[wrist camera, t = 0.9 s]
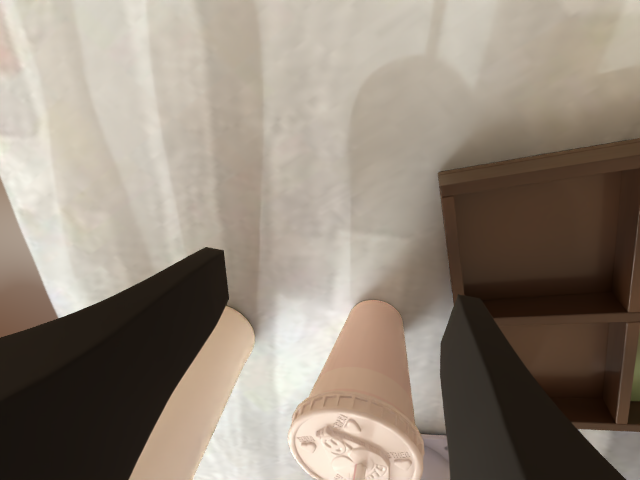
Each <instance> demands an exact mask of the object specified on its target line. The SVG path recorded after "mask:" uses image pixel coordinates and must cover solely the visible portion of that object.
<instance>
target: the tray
mask: <svg viewBox="0 0 640 480" xmlns="http://www.w3.org/2000/svg"><path fill="white" fill-rule="evenodd" d="M438 179H439V187H440V195H441V203H442V212H443V220H444V228H445V236H446V244H447V253H448V261H449V269H450V277H451V285H452V294H453V302H454V304H455V301H456V299H457V296H458V294H459V295H464V296H470V297H475V298H480V299H481V300H482V302H483V303H484V305H485V306H486V308H487V309H488V311H489V313H490V314H491V316H492V317H493V319H494V320H495V322H496V323H497V325H498V327H499V328H500V330H501V331H502V333H503V334H504V336H505V337H506V339H507V340H508V342H509V343H510V345H511V346H512V348H513V349H514V350H515V352H516V353H517V355H518V356H519V358H520V359H521V360H522V362H523V363H524V365H525V366H526V367H527V369H528V370H529V371H530V373H531V374H532V376H533V377H534V378H535V379H536V381H537V382H538V383H539V385H540V386H541V387H542V388H543V390H544V391H545V392H546V393H547V395H548V396H549V397H550V398H551V400H552V401H553V402H554V403H555V404H556V406H557V407H558V408H559V409H560V410H561V411H562V413H563V414H564V415H565V416H566V417H567V418H568V419H569V420H570V422H571V423H572V424H573V425H574V426H575V427H576V428H577V429H591V430H612V431H634V432H640V138H637V139H631V140H625V141H619V142H613V143H607V144H601V145H596V146H590V147H584V148H578V149H572V150H566V151H560V152H554V153H548V154H542V155H536V156H530V157H524V158H518V159H513V160H507V161H501V162H495V163H489V164H483V165H477V166H471V167H465V168H459V169H453V170H447V171H441V172H438Z"/></svg>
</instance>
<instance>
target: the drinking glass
mask: <svg viewBox="0 0 640 480" xmlns="http://www.w3.org/2000/svg"><path fill="white" fill-rule="evenodd" d="M254 344H255V335H254V331H253V328H252V326H251V325H250V323H249V322H248V320H247V319H246V318H245V317H244V316H243V315H242V314H241V313H239V312H238V311H236V310H234V309H232V308H230V307H228V306H226V307H225V309H224V311H223V313H222V315H221V317H220V319H219V321H218V323H217V325H216V327H215V328H214V330H213V332H212V333H211V335H210V336H209V338H208V339H207V341H206V342H205V344H204V345H203V347H202V349H201V350H200V352H199V353H198V355H197V356H196V358H195V359H194V361H193V362H192V364H191V365H190V367H189V368H188V370H187V371H186V373H185V374H184V376H183V377H182V379H181V380H180V382H179V383H178V385H177V387H176V388H175V390H174V392H173V393H172V395H171V396H170V398H169V400H168V402H167V404H166V406H165V408H164V410H163V411H162V413H161V415H160V417H159V419H158V421H157V423H156V425H155V427H154V429H153V431H152V433H151V435H150V437H149V439H148V441H147V443H146V445H145V447H144V449H143V451H142V453H141V455H140V457H139V459H138V461H137V463H136V465H135V467H134V469H133V472H132V474H131V476H130V478H129V480H192V479H193V477H194V475H195V473H196V471H197V468H198V466H199V464H200V462H201V460H202V457H203V455H204V453H205V451H206V448H207V446H208V444H209V442H210V439H211V437H212V435H213V433H214V430H215V428H216V426H217V424H218V421H219V419H220V417H221V415H222V413H223V410H224V408H225V406H226V404H227V401H228V399H229V397H230V395H231V393H232V390H233V388H234V386H235V384H236V382H237V379H238V377H239V375H240V373H241V371H242V369H243V367H244V365H245V363H246V361H247V359H248V357H249V356H250V354H251V352H252V350H253V348H254Z"/></svg>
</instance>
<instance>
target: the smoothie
mask: <svg viewBox="0 0 640 480" xmlns="http://www.w3.org/2000/svg"><path fill="white" fill-rule="evenodd" d="M288 444H289V448H290V450H291V453H292V455H293V456H294V458H295V460H296V461H297V462H298V463H299V465H300V466H301V467H302V468H303V469H304V470H305V471H306V472H307V473H308V474H309V475H311V476H312V477H313V478H315V479H316V480H420V479H421V476H422V473H423V456H424V454H425V452H424V441H423V439H422V437H421V435H420V432H419V430H418V428H417V427H416V426H415V419H414V409H413V403H412V395H411V386H410V378H409V370H408V361H407V353H406V345H405V336H404V328H403V320H402V317H401V315H400V313H399V312H398V311H397V310H396V309H395V308H394V307H393V306H391V305H390V304H388V303H386V302H383V301H379V300H367V301H363V302H360V303H358V304H357V305H356V306H354V307H353V309H352V310H351V312H350V314H349V316H348V318H347V320H346V322H345V324H344V326H343V328H342V330H341V332H340V334H339V336H338V338H337V340H336V342H335V344H334V347H333V349H332V351H331V353H330V355H329V357H328V359H327V361H326V363H325V365H324V367H323V369H322V371H321V373H320V375H319V377H318V379H317V381H316V383H315V385H314V387H313V389H312V391H311V393H310V395H309V397H308V398H306V399H305V400H304V401H303V402H302V403H301V404H299V405H298V406H297V408H296V410H295V412H294V414H293V416H292V424H291V427H290V429H289V433H288Z"/></svg>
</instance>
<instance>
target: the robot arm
mask: <svg viewBox="0 0 640 480" xmlns="http://www.w3.org/2000/svg"><path fill="white" fill-rule="evenodd" d="M228 300H229V294H228V285H227V276H226V267H225V258H224V250H218V249H213V248H208V247H206V248H203V249H201V250H199V251H197V252H195V253H194V254H192V255H190V256H188V257H186V258H184V259H183V260H181V261H179V262H177V263H175V264H174V265H172V266H170V267H168V268H166V269H165V270H163V271H161V272H159V273H157V274H155V275H154V276H152V277H150V278H148V279H146V280H144V281H142V282H140V283H138V284H136V285H134V286H132V287H130V288H128V289H126V290H124V291H122V292H120V293H118V294H116V295H114V296H112V297H110V298H108V299H105V300H103V301H101V302H99V303H96V304H94V305H92V306H89V307H87V308H84V309H82V310H79V311H77V312H75V313H72V314H69V315H67V316H64V317H61V318H58V319H56V320H53V321H50V322H47V323H44V324H41V325H39V326H36V327H33V328H30V329H27V330H24V331H21V332H18V333H14V334H11V335H8V336H4V337H1V338H0V480H129V478H130V476H131V474H132V472H133V469H134V467H135V465H136V463H137V461H138V459H139V457H140V455H141V453H142V451H143V449H144V447H145V445H146V443H147V441H148V439H149V437H150V435H151V433H152V431H153V429H154V427H155V425H156V423H157V421H158V419H159V417H160V415H161V413H162V411H163V410H164V408H165V406H166V404H167V402H168V400H169V398H170V396H171V395H172V393H173V392H174V390H175V388H176V387H177V385H178V383H179V382H180V380H181V379H182V377H183V376H184V374H185V373H186V371H187V370H188V368H189V367H190V365H191V364H192V362H193V361H194V359H195V358H196V356H197V355H198V353H199V352H200V350H201V349H202V347H203V345H204V344H205V342H206V341H207V339H208V338H209V336H210V335H211V333H212V332H213V330H214V328H215V327H216V325H217V323H218V321H219V319H220V317H221V315H222V313H223V311H224V309H225V307H226V304H227V302H228ZM440 379H441V389H442V398H443V408H444V417H445V426H446V435H447V436H445V435H428V434H420V435H421V437H422V439H423V441H424V452H425V454H424V456H423V473H422V476H421V479H420V480H626V479H625V478H624V477H623V476H622V475H621V474H620V473H619V472H618V471H617V470H616V469H615V468H614V467H613V466H612V465H611V464H610V463H609V462H608V461H607V460H606V459H605V458H604V457H603V456H602V455H601V454H600V453H599V452H598V451H597V450H596V449H595V448H594V447H593V446H592V445H591V444H590V443H589V441H588V440H587V439H586V438H585V437H584V436H583V435H582V434H581V433H580V432H579V431H578V429H577V428H576V427H575V426H574V425H573V424H572V423H571V422H570V420H569V419H568V418H567V417H566V416H565V415H564V414H563V413H562V411H561V410H560V409H559V408H558V407H557V406H556V404H555V403H554V402H553V401H552V400H551V398H550V397H549V396H548V395H547V393H546V392H545V391H544V390H543V388H542V387H541V386H540V385H539V383H538V382H537V381H536V379H535V378H534V377H533V376H532V374H531V373H530V371H529V370H528V369H527V367H526V366H525V365H524V363H523V362H522V360H521V359H520V358H519V356H518V355H517V353H516V352H515V350H514V349H513V348H512V346H511V345H510V343H509V342H508V340H507V339H506V337H505V336H504V334H503V333H502V331H501V330H500V328H499V327H498V325H497V323H496V322H495V320H494V319H493V317H492V316H491V314H490V313H489V311H488V309H487V308H486V306H485V305H484V303H483V302H482V300H481V299H480V298H475V297H470V296H464V295H459V294H458V296H457V299H456V301H455V304H454V307H453V310H452V313H451V316H450V318H449V321H448V324H447V327H446V330H445V333H444V336H443V338H442V341H441V355H440Z"/></svg>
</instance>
